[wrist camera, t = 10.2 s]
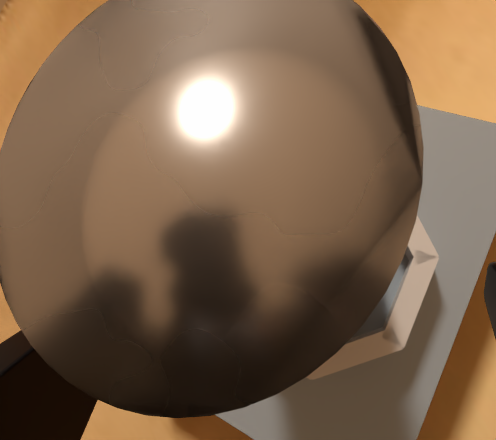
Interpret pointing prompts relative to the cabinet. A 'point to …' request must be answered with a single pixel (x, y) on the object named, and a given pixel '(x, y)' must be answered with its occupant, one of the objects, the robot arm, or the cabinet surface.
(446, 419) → the cabinet surface
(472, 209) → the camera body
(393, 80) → the lens
